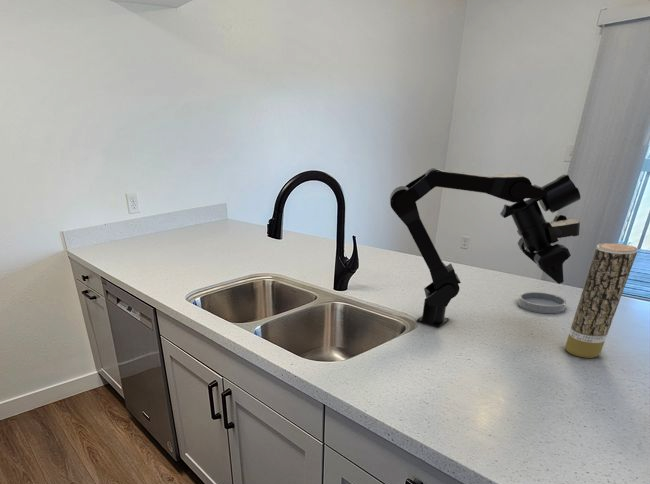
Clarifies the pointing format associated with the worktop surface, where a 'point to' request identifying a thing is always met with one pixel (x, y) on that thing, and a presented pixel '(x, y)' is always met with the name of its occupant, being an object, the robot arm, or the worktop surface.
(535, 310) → the stand
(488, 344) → the worktop surface
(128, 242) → the worktop surface
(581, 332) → the paper tube
